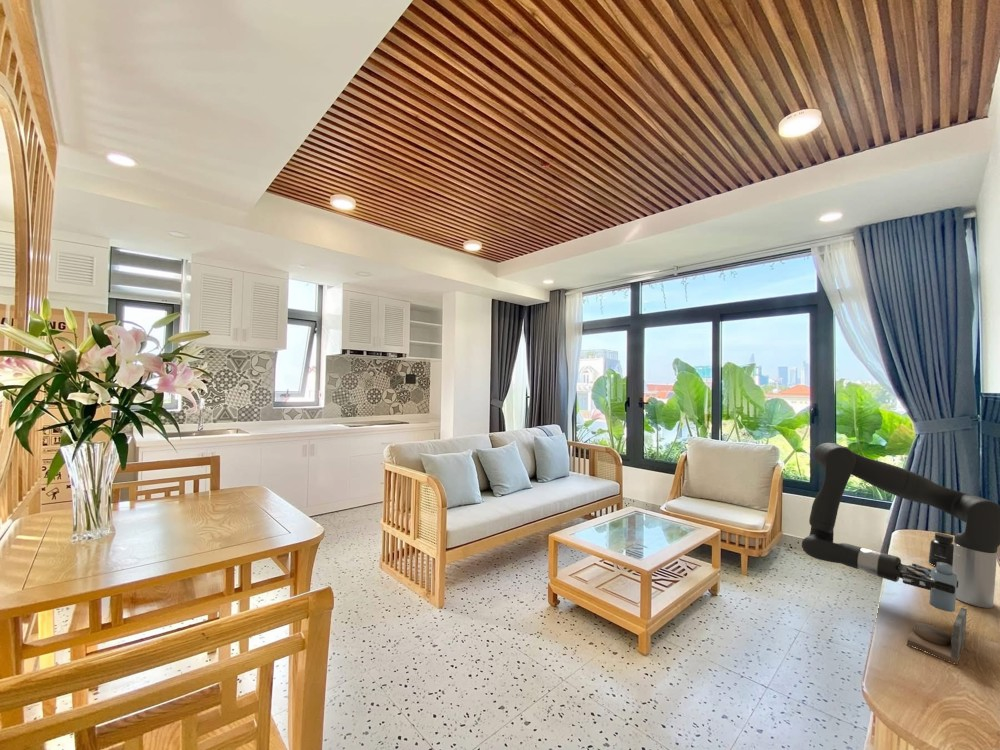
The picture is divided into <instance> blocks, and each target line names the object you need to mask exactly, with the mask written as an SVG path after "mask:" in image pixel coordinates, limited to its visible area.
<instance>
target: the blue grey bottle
mask: <svg viewBox="0 0 1000 750" xmlns="http://www.w3.org/2000/svg"><path fill="white" fill-rule="evenodd" d="M952 568H953V566H952V565H949V564H947V563H943V562H937V566H936V567H935V568H930V569H931V575H930V576H931V579H934V580H936V581H940V582H943V583H947V584H950V585H953V586H955V593H954V594H951V593H948V592H945V591H942V590H938V589H936V588H935V589H931V590H929V602H928V603H929V605H931V606H932V607H933V608H936V609H938V610H941V611H944V612H950V613H954V612H956V600H957V599H956V587H957V575H956V574H954V573H952Z"/></svg>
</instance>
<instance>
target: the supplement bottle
mask: <svg viewBox="0 0 1000 750" xmlns="http://www.w3.org/2000/svg"><path fill="white" fill-rule="evenodd" d="M953 553H954V537H953V536H952V535H950V534H946V533H942V532H936V533H934V539H931V540H930V543H929V552H928V554H929V555H928V564H930V563H931V564H933V565H935V566H937V562H943V563H947V564H949V565H952V566H953ZM931 564H930V565H931ZM933 565H932V566H933ZM935 566H934V567H935Z"/></svg>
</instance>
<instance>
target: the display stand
mask: <svg viewBox="0 0 1000 750" xmlns="http://www.w3.org/2000/svg"><path fill="white" fill-rule="evenodd" d="M967 612H968V611H967V608H964V607H960V608H959V612H958V614H957V616H956V618H955V620H954V622H953V625H952V626H953V627H952V633H949V632H948V631H946V630H945V629H943V628H940V627H938V626H936V625H933V624H929V623H925V622H919V621H917V622H916V623H914V628H913V629H912V631H911V633H910V635H909V636H908V638H907V641H906V646H908V645H910V646H913V647H916V648H918V649H921V650H923V651H926V652H928V653H930V654H933V655H935V656H937V657H940V658H942V659H945V660H947V661H950V662H952V663H955V664H957V665H958V664H959V662H958V661H960V659H961V656H962V654H963V650H964V648H965V647H966V646H965V645H966V627H967V626H966V625H967ZM910 646H909V647H910ZM913 647H912V648H913ZM918 649H917V650H918ZM923 651H922V652H923ZM928 653H927V654H928ZM961 653H962V654H961ZM930 654H929V655H930ZM935 656H934V657H935ZM937 657H936V658H937ZM940 658H939V659H940ZM959 658H960V659H959ZM942 659H941V660H942ZM945 660H944V661H945ZM947 661H946V662H947ZM950 662H949V663H950ZM952 663H951V664H952ZM955 664H954V665H955Z"/></svg>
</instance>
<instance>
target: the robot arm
mask: <svg viewBox="0 0 1000 750" xmlns="http://www.w3.org/2000/svg"><path fill="white" fill-rule="evenodd" d="M813 456H814V458H815V461H816V462H817V464H819V465H820V466H822V467H823V468H824V469H825V470H824V471H825V472H824V479H823V484H822V486H821V488H820V490H819V491H818V493H817V494H816V496H815V497H814V500H813V503H812V505H811V509H810V510H811V511H810V515H809V525H810V531H809V532H810V533H809V535H808V536H807V537H805V538H803V540H802V541H801V548H802V550H803V551H804V553H805V554H806V555H808V556H809V557H811V558H813V559H816V560H820V561H825V562H830V563H833V564H836V563H837V564H841V565H844V566H847V567H849V568H853V569H856V570H859V571H862V572H864V573H866V574H869V575H872V576H876V577H879V578H881V579H885V580H889V581H891V582H895V583H896V582H897V583H898V581H899V580H900V579H902V583H903V584H905V585H908V586H913V587H917V588H921V589H924V590H928V591H930V590H931V589H935V588H936V589H938V590H942V591H945V592H948V593H951V594H954V593H955V586H953V585H950V584H947V583H943V582H940V581H936V580H934V579H931V569H932V568H928V567H925V566H922V565H919V564H917V563H911V564H908V565H907V564H902V559H901V557H898V556H895V555H891V554H888V553H886V552H881V551H877V550H876V549H875V550H874V549H869V548H865V547H864V548H863V547H862V546H857V545H854V544H850V543H846V542H845V543H844V542H843V543H842V542H841V543H840V542H839V543H836V542H834V533H835V532H834V530H835V525H836V520H837V517H838V510H839V507H840V505H841V504H840V503H841V499H842V498H843V495H844V491H845V489H846V487H847V484H848V481H849V480H850V477H851V476H853V477H856V478H858V479H860V480H862V481H864V482H866V483H868V484H870V485H872V486H873V487H875V488H878V489H880V490H882V491H884V492H887V493H888V494H892V495H893V496H896V497H899V498H902V499H905V500H906V501H910V502H914V503H918V504H924V505H928V506H930V507H933V508H936V509H938V510H941V511H942V512H944V513H947V515H951V516H953V517H955V519H958V520H960V521H962V522H964V523H965V525H966V526H965V530H964V532H958V533H955V534H954V537H953V544H954V553H953V568H952V573H954V574H956V575H957V587H956V600H958V601H961V602H964V603H966V604H968V605H972V606H975V607H980V608H983V609H985V608H987V609H992V608H993V607H994V598H995V590H996V589H995V588H996V574H997V573H996V572H997V559H998V558H997V557H998V548H999V547H1000V505H999V504H998V503H997V502H995V501H992V500H989V499H987V498H983V497H980V496H978V495H975V494H970V493H966V492H961V491H959V490H954V489H953V488H952V489H951V488H948V487H945V486H943V485H939V484H937V483H935V482H934V481H932V480H930V479H929V478H927V477H925V476H924V475H921V474H918V473H916V472H913V471H911V470H908V469H905V468H903V467H900V466H897V465H895V464H890V463H887V462H883V461H880V460H876V459H872V458H869V457H866V456H863V455H861V454H858V453H856V452H853V451H852V450H851V449H849V448H847V447H846V446H844V445H840V444H839V443H834V442H825V443H820V444H819V445H817V446H816V448H815V449H814V452H813Z"/></svg>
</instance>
